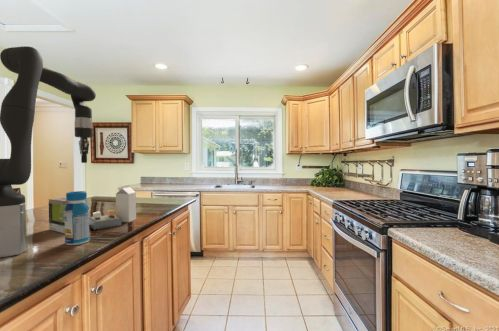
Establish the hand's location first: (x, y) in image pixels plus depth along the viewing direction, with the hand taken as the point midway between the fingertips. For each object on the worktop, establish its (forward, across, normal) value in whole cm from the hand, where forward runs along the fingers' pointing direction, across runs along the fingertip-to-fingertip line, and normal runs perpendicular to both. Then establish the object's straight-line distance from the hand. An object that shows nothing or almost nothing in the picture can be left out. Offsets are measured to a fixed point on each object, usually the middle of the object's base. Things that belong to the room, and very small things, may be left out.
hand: (84, 162), depth 130 cm
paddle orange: (+26, +4, +11) cm, 28 cm away
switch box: (+31, +4, +8) cm, 33 cm away
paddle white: (+26, +4, +5) cm, 27 cm away
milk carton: (+32, +1, +19) cm, 37 cm away
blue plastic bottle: (+32, +28, -6) cm, 43 cm away
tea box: (+32, +1, -7) cm, 33 cm away
